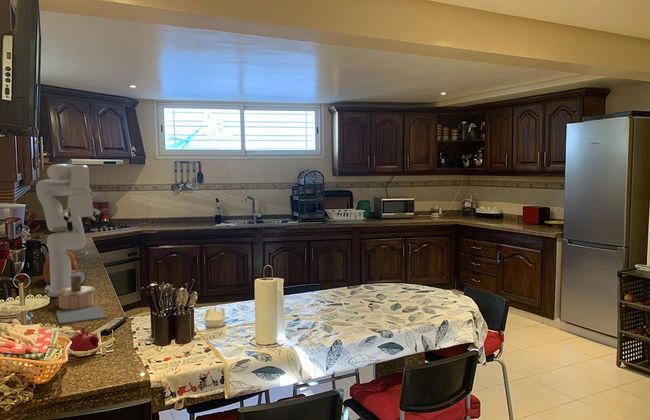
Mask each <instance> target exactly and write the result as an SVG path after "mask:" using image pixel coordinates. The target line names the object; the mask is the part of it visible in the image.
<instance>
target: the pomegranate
mask: <svg viewBox="0 0 650 420" xmlns="http://www.w3.org/2000/svg"><path fill="white" fill-rule="evenodd" d="M80 330H81V332H76V331H74V332H72V334H74V335H73V336H71V337H70V338H69V339H70V340H71V341H72V344H71V346H70V349H71V350H73V351H88V350H92V349H95V348H97V347H98V342H99V343H100V338H99V337H98V336H97V335H96V334H95V333H93V332H96V331H95V330H92V329H91V330H89V331H85V326H81V329H80ZM98 348H99V347H98Z"/></svg>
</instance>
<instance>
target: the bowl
mask: <svg viewBox="0 0 650 420" xmlns="http://www.w3.org/2000/svg"><path fill="white" fill-rule="evenodd" d="M93 304H94V292H93V293H90V294H86V295H81V296H59V297H58V308H60V309H63V310H64V309H65V310H71V309H79V308H87V307H91V306H92V305H93Z"/></svg>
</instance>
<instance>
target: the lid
mask: <svg viewBox="0 0 650 420" xmlns="http://www.w3.org/2000/svg"><path fill="white" fill-rule="evenodd" d="M95 291H96V288H95V287H94V286H88V285H87V286H86V285H85V286H84V285H83V286H82V284H81V279H80V274H74V275H71V287H69V288H64V289H60V290H58V291H57V295H58V296H81V295H86V294H90V293H93V294H94V292H95Z"/></svg>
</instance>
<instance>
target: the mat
mask: <svg viewBox="0 0 650 420" xmlns="http://www.w3.org/2000/svg"><path fill="white" fill-rule="evenodd" d="M55 315H56V318H57V322H58V325H66V324H74V322H75V323H80V322H81V323H82V322H88V320H89V321H96V320H95V319H97V320H101V319H100V318H104V319H107V318H108V316H107V314H106V312H105V311H104V310H103V308H102V306H101V305H97V306H95V305H94V306H88V307H83V308H77V309H65V310H64V309H63V310H56V311H55Z"/></svg>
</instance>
